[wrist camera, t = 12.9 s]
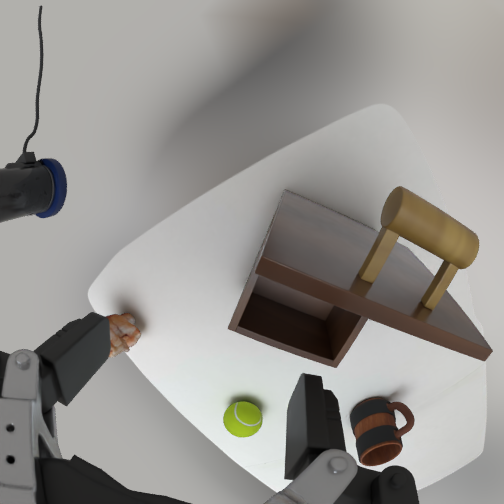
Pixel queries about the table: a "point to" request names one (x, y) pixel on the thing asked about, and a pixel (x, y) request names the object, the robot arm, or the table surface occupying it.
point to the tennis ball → (242, 419)
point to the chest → (294, 318)
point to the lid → (378, 266)
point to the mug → (379, 430)
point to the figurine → (122, 333)
